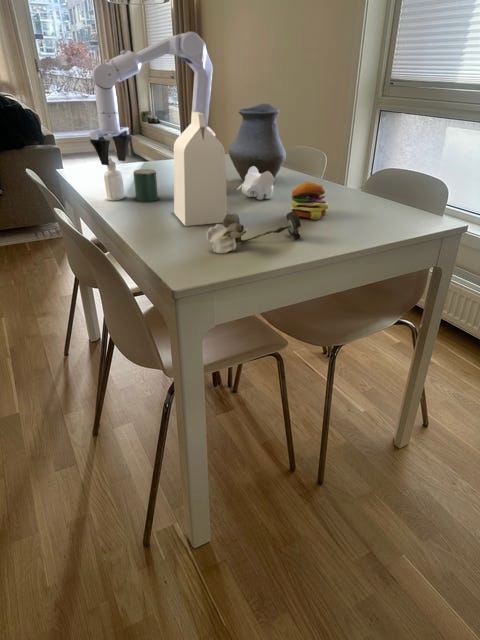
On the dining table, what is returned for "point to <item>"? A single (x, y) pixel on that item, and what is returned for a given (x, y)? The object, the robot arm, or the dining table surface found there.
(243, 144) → the grey clay vase
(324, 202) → the cheeseburger
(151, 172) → the green tin can
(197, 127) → the milk
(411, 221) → the dining table surface
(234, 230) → the artificial flower
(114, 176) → the eye dropper bottle
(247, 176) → the elephant figurine
